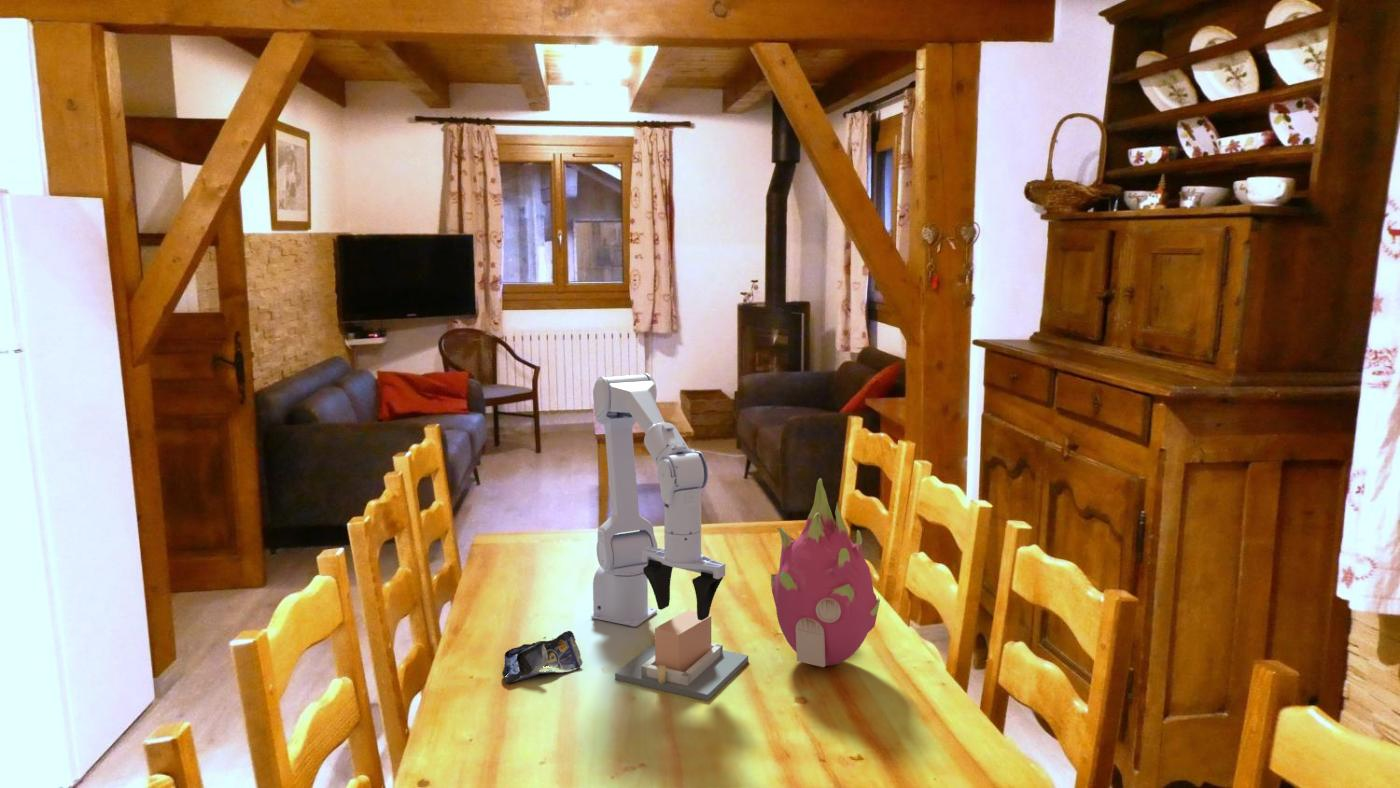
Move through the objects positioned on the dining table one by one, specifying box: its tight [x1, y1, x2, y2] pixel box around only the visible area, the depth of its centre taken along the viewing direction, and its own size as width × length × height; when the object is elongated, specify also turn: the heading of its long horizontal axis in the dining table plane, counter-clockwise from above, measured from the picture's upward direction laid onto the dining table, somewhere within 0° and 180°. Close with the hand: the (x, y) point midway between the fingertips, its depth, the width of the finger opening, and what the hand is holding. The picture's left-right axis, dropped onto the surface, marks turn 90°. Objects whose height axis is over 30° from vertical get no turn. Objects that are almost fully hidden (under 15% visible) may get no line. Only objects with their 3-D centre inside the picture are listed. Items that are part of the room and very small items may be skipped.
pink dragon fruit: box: [770, 477, 881, 668], centre depth 152 cm, size 18×14×30 cm
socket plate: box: [614, 642, 749, 702], centre depth 152 cm, size 16×15×4 cm
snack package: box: [501, 630, 584, 684], centre depth 152 cm, size 12×7×12 cm
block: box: [654, 609, 712, 672], centre depth 152 cm, size 9×4×7 cm, turn 146°
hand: (683, 612), depth 151 cm, fingers open, 7 cm apart
